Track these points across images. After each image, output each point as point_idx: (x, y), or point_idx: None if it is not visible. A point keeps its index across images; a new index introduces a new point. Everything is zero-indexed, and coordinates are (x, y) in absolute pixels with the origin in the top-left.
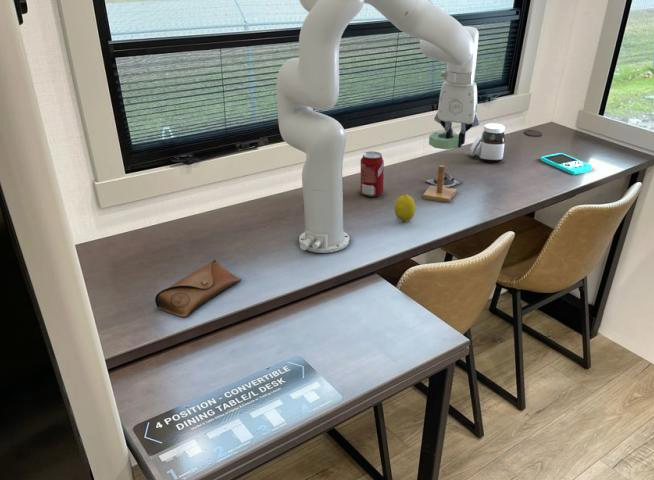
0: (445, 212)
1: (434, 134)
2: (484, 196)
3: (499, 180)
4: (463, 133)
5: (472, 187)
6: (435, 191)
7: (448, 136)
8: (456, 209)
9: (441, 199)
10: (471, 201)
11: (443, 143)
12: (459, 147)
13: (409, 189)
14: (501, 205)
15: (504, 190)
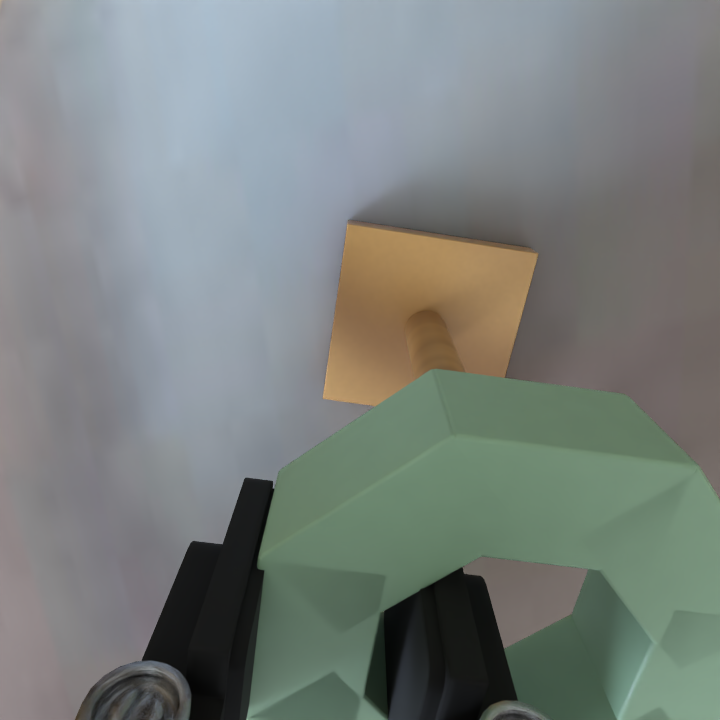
0: (355, 29)
1: (692, 693)
2: (142, 375)
3: (109, 605)
4: (136, 665)
5: (237, 487)
6: (454, 330)
7: (455, 607)
8: (284, 110)
9: (403, 231)
10: (207, 278)
11: (521, 418)
12: (255, 479)
13: (619, 375)
14: (7, 259)
15: (49, 486)
